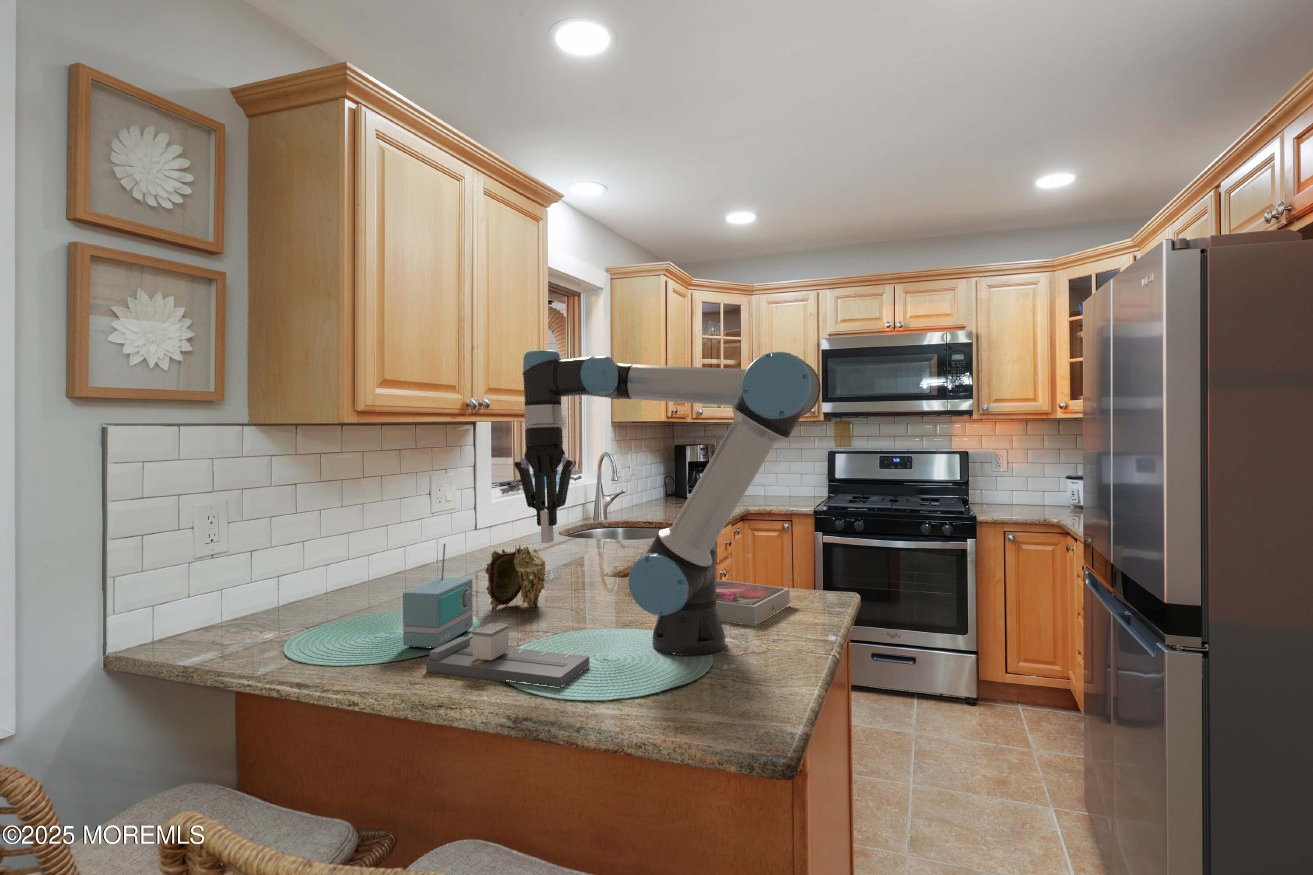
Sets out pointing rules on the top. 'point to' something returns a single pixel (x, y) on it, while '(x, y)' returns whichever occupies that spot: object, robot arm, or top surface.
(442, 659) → the fader console
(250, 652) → the top surface
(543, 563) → the seashell
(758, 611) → the product packaging
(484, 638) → the fader tab
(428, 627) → the radio
